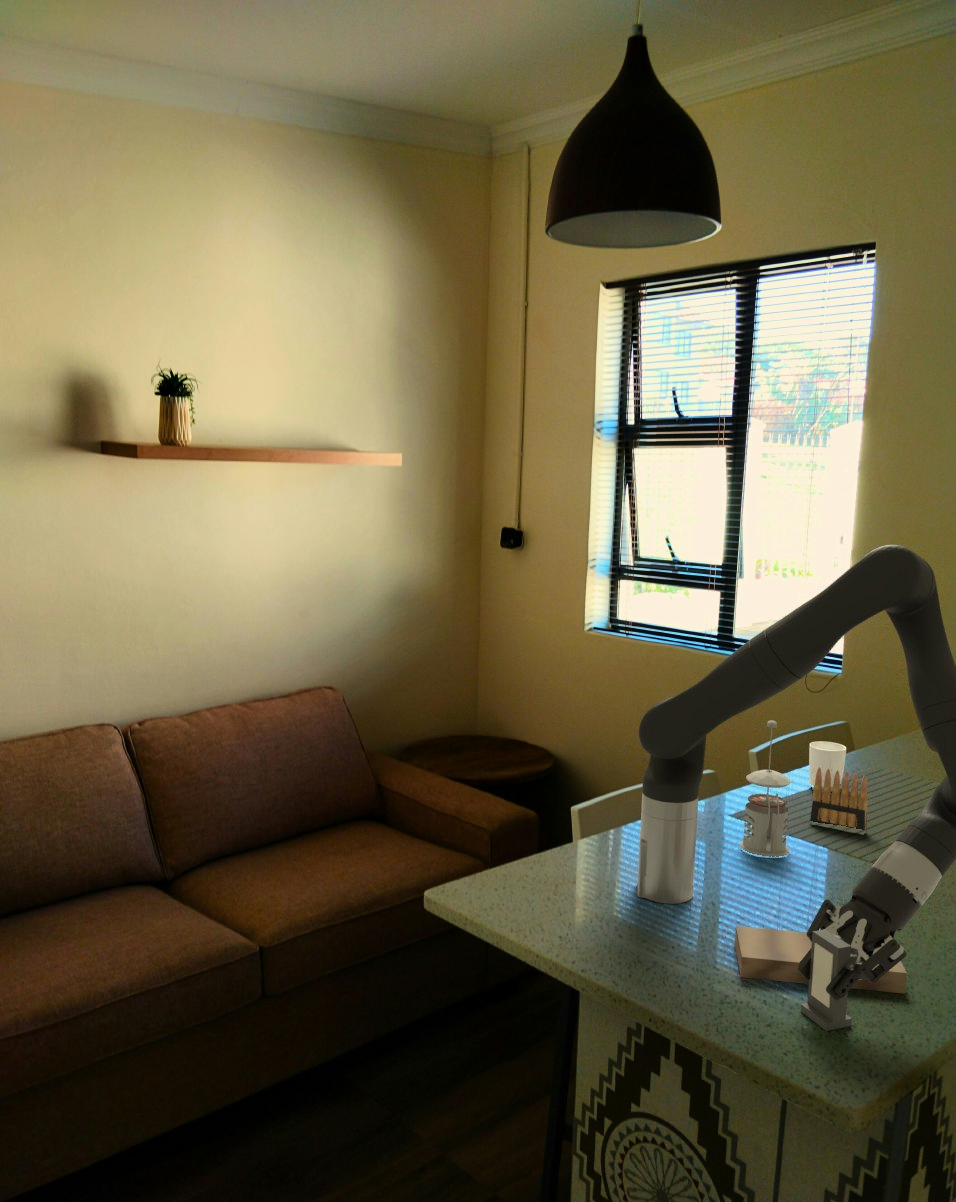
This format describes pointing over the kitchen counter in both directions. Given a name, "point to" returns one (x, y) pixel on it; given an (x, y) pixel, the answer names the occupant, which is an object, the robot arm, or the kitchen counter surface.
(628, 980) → the kitchen counter surface
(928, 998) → the kitchen counter surface
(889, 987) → the wooden block
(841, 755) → the white cup
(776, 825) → the french press
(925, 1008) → the kitchen counter surface
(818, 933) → the picture frame
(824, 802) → the ammunition clip
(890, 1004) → the kitchen counter surface
